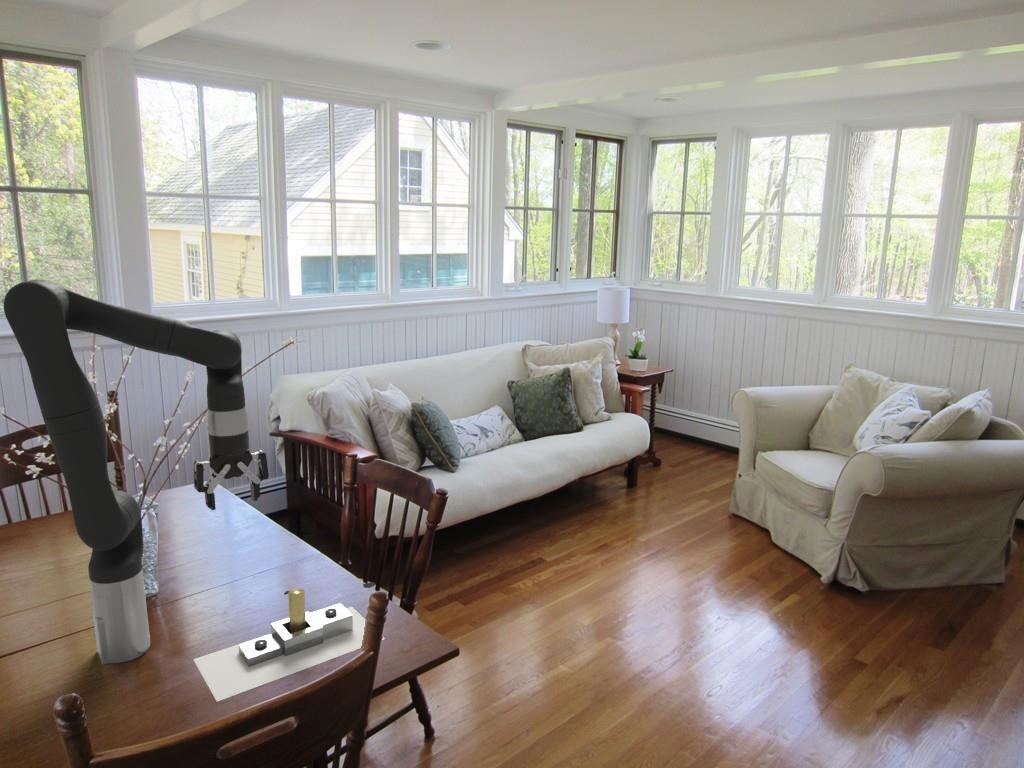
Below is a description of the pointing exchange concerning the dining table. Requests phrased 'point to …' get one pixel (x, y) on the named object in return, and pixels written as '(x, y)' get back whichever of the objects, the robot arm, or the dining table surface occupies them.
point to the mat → (272, 662)
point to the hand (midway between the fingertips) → (234, 504)
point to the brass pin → (296, 610)
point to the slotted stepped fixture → (297, 635)
